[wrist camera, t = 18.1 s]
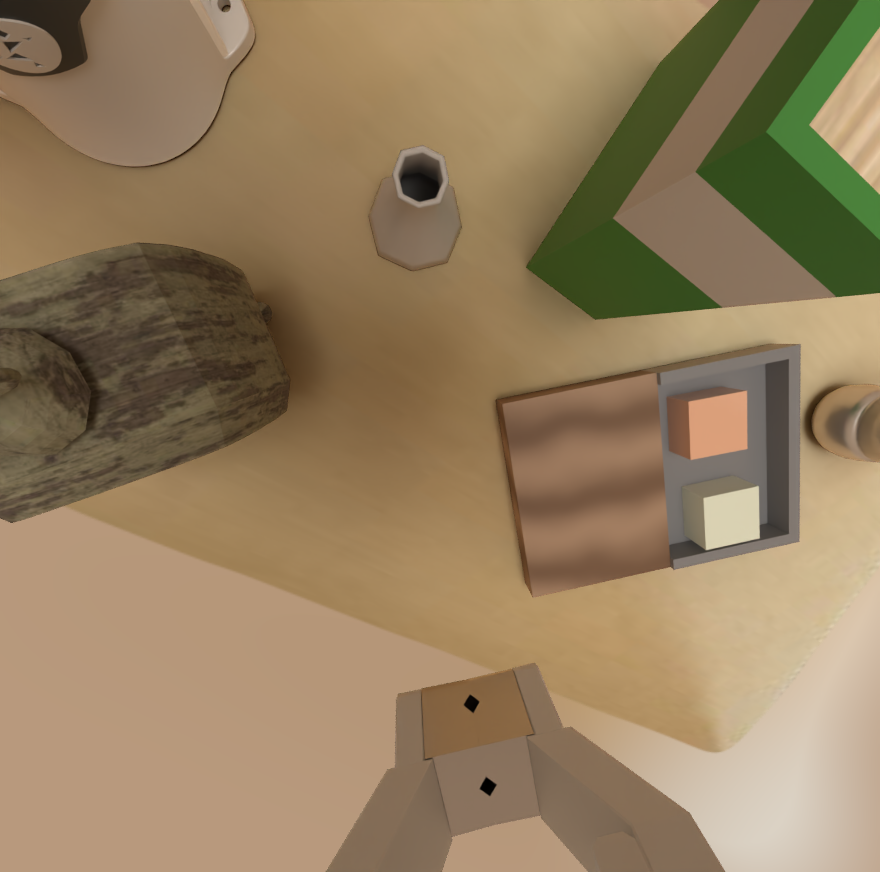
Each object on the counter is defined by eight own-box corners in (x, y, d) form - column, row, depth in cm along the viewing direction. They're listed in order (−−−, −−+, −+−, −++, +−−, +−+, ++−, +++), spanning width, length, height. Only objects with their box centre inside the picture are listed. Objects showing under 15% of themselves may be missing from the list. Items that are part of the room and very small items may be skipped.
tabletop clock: (278, 283, 34) (-29, 148, 10) (322, 391, 36) (163, 503, 12) (102, 344, 34) (-650, 364, 10) (158, 450, 36) (-342, 683, 12)
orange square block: (666, 396, 38) (688, 401, 35) (720, 386, 38) (747, 390, 35) (669, 450, 39) (690, 460, 36) (722, 440, 40) (747, 448, 37)
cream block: (681, 486, 40) (703, 498, 37) (733, 475, 40) (758, 486, 38) (684, 535, 41) (705, 550, 38) (734, 524, 42) (759, 538, 39)
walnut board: (495, 399, 38) (502, 404, 35) (640, 370, 38) (656, 372, 36) (525, 582, 42) (532, 597, 39) (655, 553, 42) (670, 566, 40)
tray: (640, 370, 38) (660, 373, 35) (770, 343, 39) (800, 344, 36) (655, 553, 42) (673, 569, 39) (772, 527, 43) (799, 541, 40)
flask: (371, 165, 33) (358, 93, 23) (465, 177, 34) (491, 112, 24) (366, 266, 34) (352, 238, 25) (456, 276, 35) (478, 252, 25)
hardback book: (660, 62, 33) (1285, -603, 10) (728, 127, 34) (1420, -318, 11) (526, 267, 35) (766, 131, 12) (595, 319, 37) (930, 288, 13)
